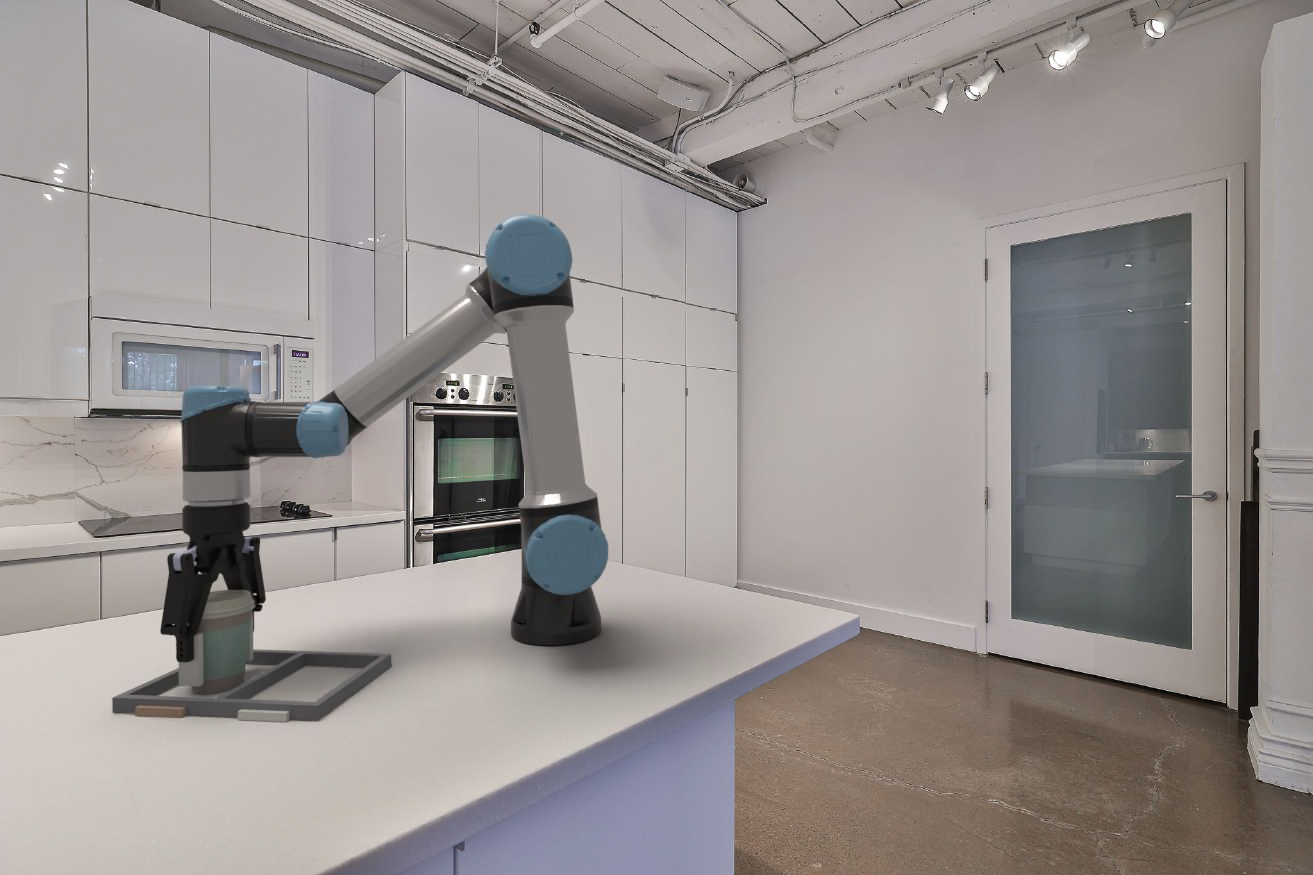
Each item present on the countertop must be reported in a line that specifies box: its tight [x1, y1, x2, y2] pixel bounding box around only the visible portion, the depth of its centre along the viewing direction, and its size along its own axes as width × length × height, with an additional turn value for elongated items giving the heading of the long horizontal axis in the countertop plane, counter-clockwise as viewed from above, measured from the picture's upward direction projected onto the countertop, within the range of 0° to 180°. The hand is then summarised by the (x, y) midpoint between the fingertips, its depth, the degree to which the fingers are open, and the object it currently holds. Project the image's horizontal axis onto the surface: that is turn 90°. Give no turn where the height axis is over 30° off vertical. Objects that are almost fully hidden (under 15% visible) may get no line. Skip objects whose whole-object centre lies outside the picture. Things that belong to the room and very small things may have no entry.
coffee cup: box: [187, 589, 255, 695], centre depth 89 cm, size 9×8×12 cm
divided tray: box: [111, 648, 392, 723], centre depth 88 cm, size 26×19×2 cm
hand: (218, 671), depth 89 cm, fingers closed on coffee cup, 8 cm apart
